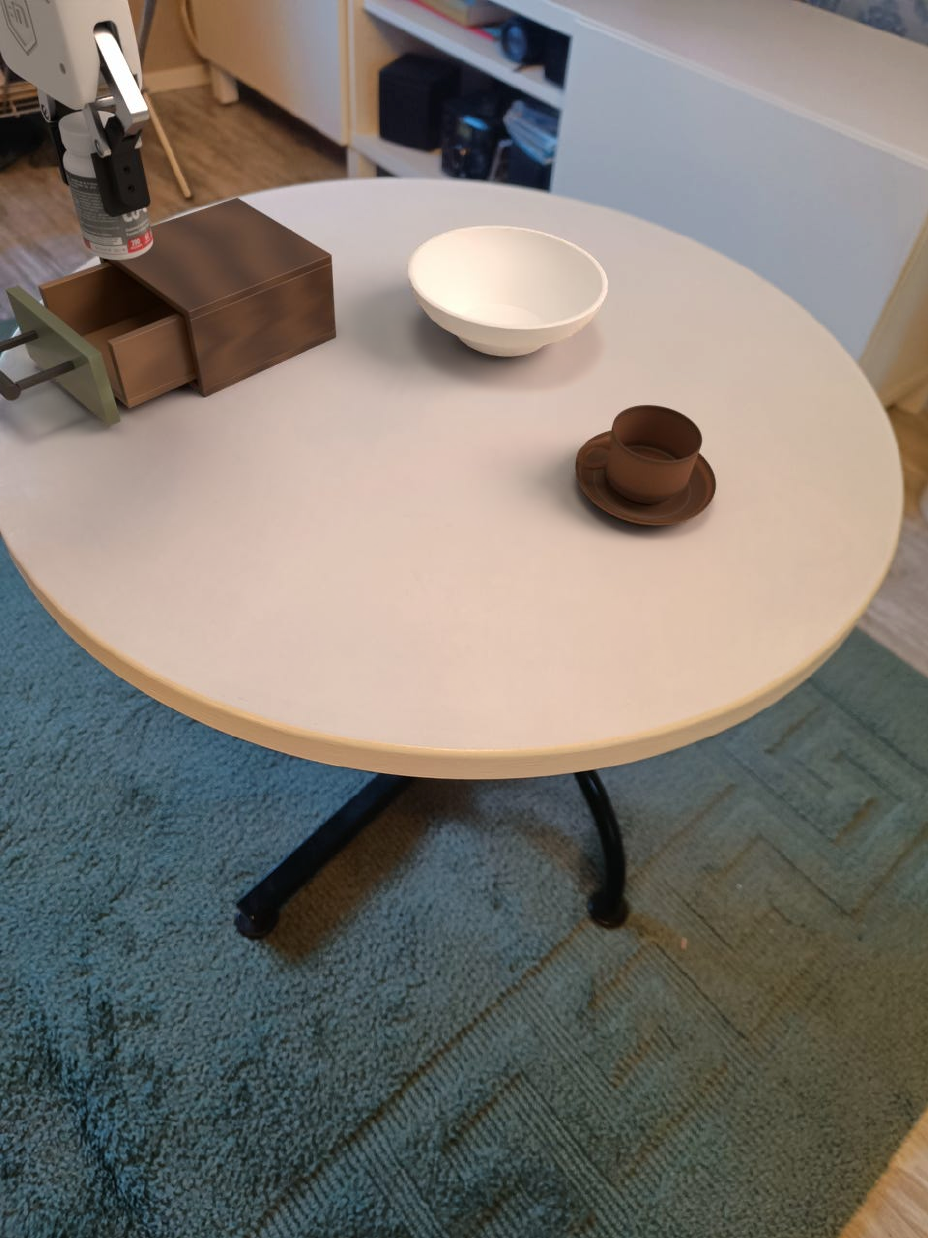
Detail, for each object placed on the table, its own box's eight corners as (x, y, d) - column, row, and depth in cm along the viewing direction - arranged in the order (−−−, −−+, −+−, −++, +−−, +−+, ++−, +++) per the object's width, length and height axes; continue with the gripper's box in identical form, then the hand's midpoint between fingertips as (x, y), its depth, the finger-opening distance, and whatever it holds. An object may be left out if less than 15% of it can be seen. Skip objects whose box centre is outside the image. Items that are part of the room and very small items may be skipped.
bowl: (629, 332, 91) (644, 270, 86) (528, 418, 80) (537, 354, 75) (478, 267, 98) (483, 206, 93) (366, 339, 87) (365, 275, 82)
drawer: (40, 457, 71) (13, 387, 66) (-37, 383, 77) (-68, 313, 72) (247, 364, 81) (238, 297, 76) (166, 304, 87) (152, 238, 82)
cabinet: (204, 397, 79) (188, 311, 73) (117, 329, 85) (95, 244, 79) (336, 336, 87) (332, 254, 80) (247, 278, 93) (237, 196, 86)
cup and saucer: (616, 553, 70) (633, 496, 65) (547, 462, 77) (557, 404, 72) (737, 517, 74) (761, 461, 69) (661, 433, 80) (678, 376, 76)
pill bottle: (144, 264, 62) (116, 139, 56) (77, 258, 62) (42, 133, 55) (161, 232, 65) (137, 111, 59) (97, 227, 65) (66, 104, 58)
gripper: (-114, -174, 48) (-2, 166, 62) (34, -107, 41) (123, 260, 55) (15, -181, 52) (93, 141, 66) (172, -121, 45) (223, 226, 59)
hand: (106, 192), depth 60 cm, fingers closed on pill bottle, 4 cm apart
